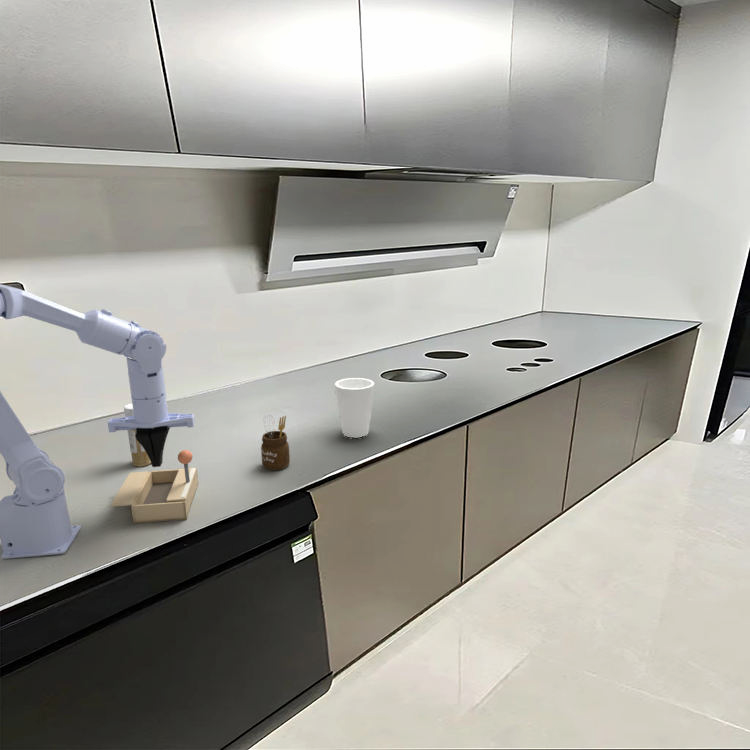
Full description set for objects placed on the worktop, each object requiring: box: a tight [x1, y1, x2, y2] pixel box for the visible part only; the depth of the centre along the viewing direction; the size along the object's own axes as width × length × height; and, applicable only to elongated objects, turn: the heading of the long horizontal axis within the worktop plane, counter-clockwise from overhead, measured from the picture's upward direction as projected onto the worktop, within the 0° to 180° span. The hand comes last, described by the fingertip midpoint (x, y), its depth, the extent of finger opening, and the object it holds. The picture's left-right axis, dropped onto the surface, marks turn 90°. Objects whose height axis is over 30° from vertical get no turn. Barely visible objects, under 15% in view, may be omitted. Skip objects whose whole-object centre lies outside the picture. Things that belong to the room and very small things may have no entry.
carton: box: [109, 468, 199, 525], centre depth 104 cm, size 13×14×4 cm
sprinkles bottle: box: [123, 402, 152, 468], centre depth 120 cm, size 5×5×14 cm
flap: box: [166, 449, 198, 502], centre depth 104 cm, size 4×13×7 cm, turn 9°
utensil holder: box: [260, 414, 291, 471], centre depth 119 cm, size 6×6×12 cm
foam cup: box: [334, 377, 375, 438], centre depth 136 cm, size 10×9×13 cm
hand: (157, 464), depth 103 cm, fingers closed
